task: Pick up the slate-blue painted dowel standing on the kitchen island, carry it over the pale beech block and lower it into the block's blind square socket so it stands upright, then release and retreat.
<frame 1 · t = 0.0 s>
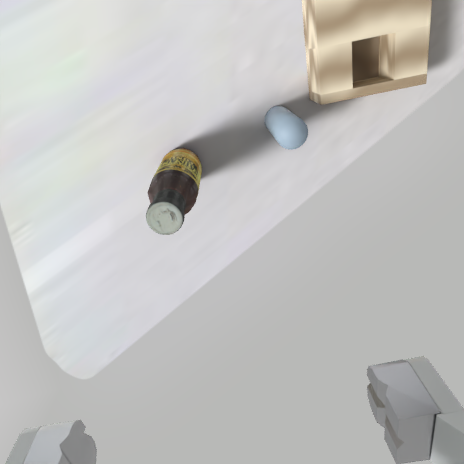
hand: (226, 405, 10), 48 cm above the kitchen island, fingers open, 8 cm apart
bore block: (355, 36, 49), on the kitchen island
sauce bottle: (181, 165, 56), on the kitchen island
pin: (277, 119, 53), on the kitchen island
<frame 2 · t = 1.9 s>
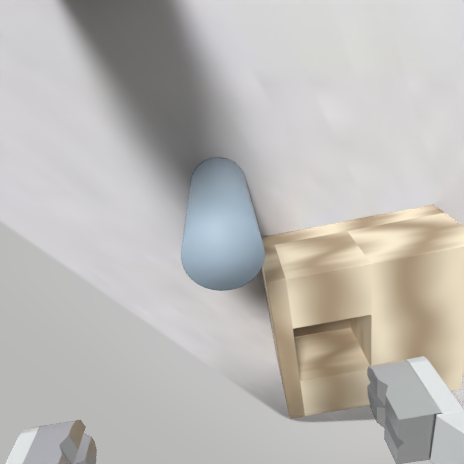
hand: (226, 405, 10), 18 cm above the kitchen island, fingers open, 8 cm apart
bore block: (346, 291, 31), on the kitchen island
pin: (218, 184, 26), on the kitchen island
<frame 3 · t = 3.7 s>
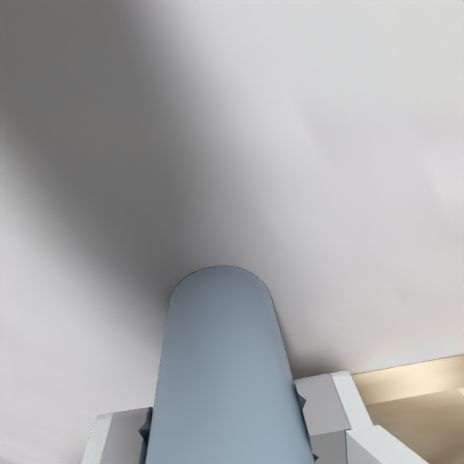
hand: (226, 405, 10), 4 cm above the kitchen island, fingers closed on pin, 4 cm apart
bore block: (430, 450, 19), on the kitchen island
pin: (220, 309, 14), on the kitchen island, touching gripper
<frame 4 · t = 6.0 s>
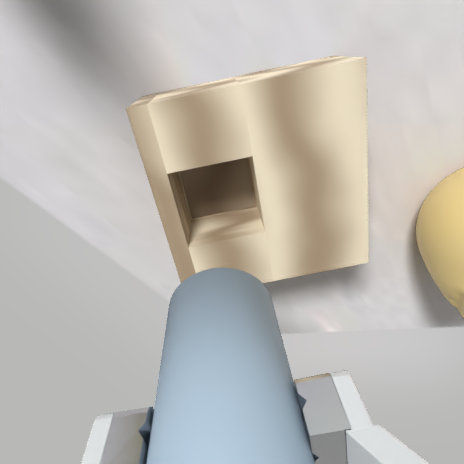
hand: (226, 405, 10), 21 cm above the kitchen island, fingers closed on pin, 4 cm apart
bore block: (252, 168, 29), on the kitchen island
pale yellow rounded lump: (460, 211, 32), on the kitchen island
pin: (221, 311, 14), point 17 cm above the kitchen island, touching gripper
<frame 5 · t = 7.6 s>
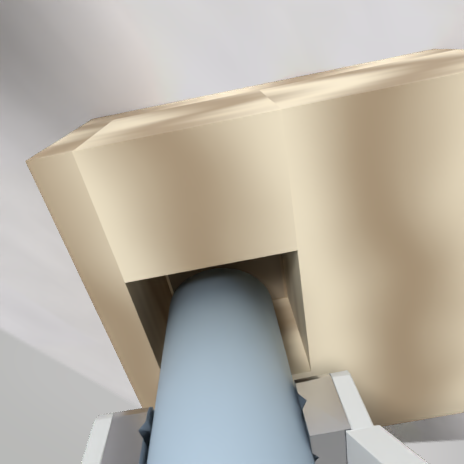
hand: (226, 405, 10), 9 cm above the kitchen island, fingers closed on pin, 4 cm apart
bore block: (280, 234, 18), on the kitchen island
pin: (221, 311, 14), point 5 cm above the kitchen island, touching gripper
when the fingers open (7 cm above the kitchen island, at t = 8.7 s): pin drops 1 cm, resting on bore block.
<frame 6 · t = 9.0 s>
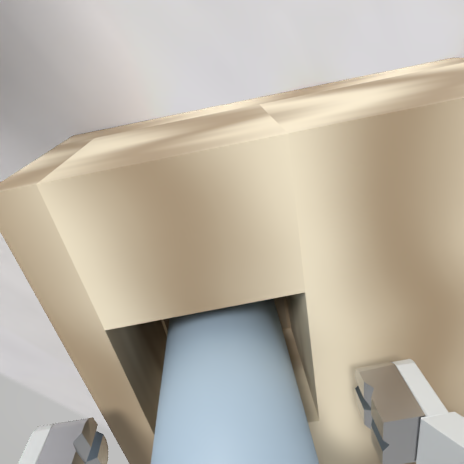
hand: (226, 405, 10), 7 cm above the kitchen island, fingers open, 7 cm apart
bore block: (282, 258, 16), on the kitchen island
pin: (221, 292, 15), point 2 cm above the kitchen island, touching bore block
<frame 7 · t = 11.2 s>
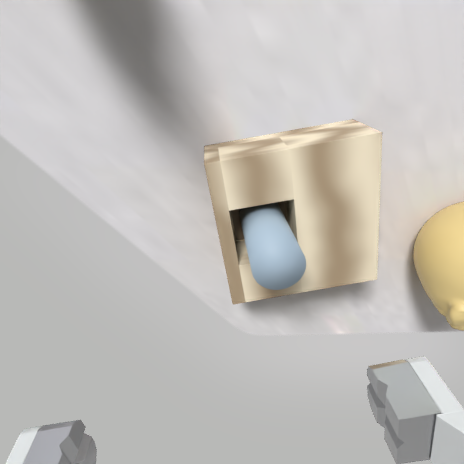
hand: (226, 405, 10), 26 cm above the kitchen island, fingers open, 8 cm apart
bore block: (285, 201, 36), on the kitchen island
pale yellow rounded lump: (449, 237, 40), on the kitchen island
pin: (259, 213, 35), point 2 cm above the kitchen island, touching bore block
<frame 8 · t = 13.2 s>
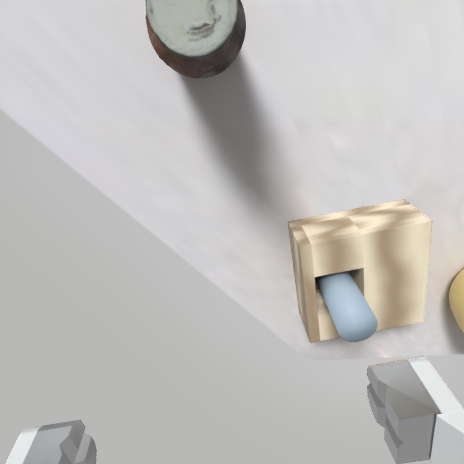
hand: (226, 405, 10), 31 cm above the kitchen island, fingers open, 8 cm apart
bore block: (347, 259, 45), on the kitchen island
sauce bottle: (199, 35, 33), on the kitchen island
pin: (329, 270, 44), point 2 cm above the kitchen island, touching bore block
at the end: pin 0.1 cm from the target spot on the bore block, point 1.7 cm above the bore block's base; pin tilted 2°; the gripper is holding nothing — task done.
